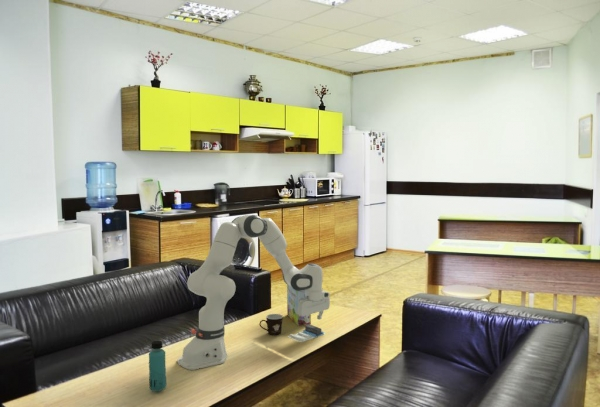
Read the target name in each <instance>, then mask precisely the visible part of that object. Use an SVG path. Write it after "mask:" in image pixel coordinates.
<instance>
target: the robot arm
mask: <svg viewBox="0 0 600 407" xmlns="http://www.w3.org/2000/svg"><path fill="white" fill-rule="evenodd" d="M252 238H253V239H254V238H258V239H259V240H260V242H261V244H262V245H263V247H264V248H265V250H266V252H268V253H269V254H270V255H271V256H272V257H273V258H274V260H275V261H276V263H277V265H278V266H279V268H280V270H281V273H282V280H283V282H284V283H285V284H286V286H287V285H289V286H290V287H292V288H293V289H294V290H296V291H301V290H305V297H303V298H301V299H300V300H299V303H298V310H297V314H298V315H300V316H304V318H305V322H306V323H309V322H310V319H308V315H309V314H311V315H312V314H313V315H314V314H316V313H318V315H317V316H316V319H317V320H322V317H323V314H324V311H327V310H329V308H330V306H331V304H330V303H331V302H330V294H331V293H330V292H329V291H326V290H324V289H323V281H324V280H323V276H324V274H323V267H322V266H320V265H319V264H316V263H310V262H309V263H307V264H305V266H304V267H302V268H300V269H299V268H298V267H297V266H295V265H294V264H293V263H292V261H291V259H290V258H289V256H288V254H287V252H286V250H287V246H288V243H287V240H286V238H285V236H284V233H282V231H281V229H280V228H279V226H278V225H277V224H276V223H275V222H274V220H273V219H272V218H270V217H261V216H259V215H255V214H252V215H251V214H250V215H248V214H247V215H241V216H237V217H235V218H234V219H233V220H232V221H225V222H222V223H221V224H220V226H219V227H218V229H217V231H216V233H215V235H214V238H213V241H212V244H211V246H210V249H209V252H208V254H207V257H206V258H205V259H204V262H203V263H202V264H201V266H200V267H198V269H197V270H195V271H193V272H192V273H190V275H189V276H188V279H187V282H186V286H187V289H188V290H189V291H190V292H192V293H194V294H195V295H198V296H200V297H205V298H206V302H205V305H204V306H202V307H201V308H200V309H199V311H198V328H197V329H196V328H195V329H194V328H192V329H191V330H190V333H191V334H192V335H195V336H194V337H193V338H192V339H191V340H190V341H189V342H188V343H187V344H186V345H185V346H184V347H183V350H182V356H180V357H178V358H177V362H176V363H177V364H178V365H179V366H180V367H182V368H183V369H186V370H190V371H194V370H199V368H200V369H205V368H208V367H212V366H216V365H220V364H224V363H225V360H226V359H227V357H228V353H227V350H226V346H225V345H226V344H225V331H226V330H225V324H224V316H225V314H224V313H225V308H226V305H227V303H228V301H229V300H231V299H232V297H234V295H235V294H236V293H235V292H236V288H237V286H236V283H235V281H234V279H232V278H230V277H228V276H226V275H221V273H222V272H223V270H224V269H225V268H228V267H229V266H230V265H231V264H232V261H233V258H234V255H235V252H236V250H237V246H238V242H239V241H240V240H241V239H252Z"/></svg>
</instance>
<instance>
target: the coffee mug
mask: <svg viewBox="0 0 600 407" xmlns="http://www.w3.org/2000/svg"><path fill="white" fill-rule="evenodd" d="M283 319H284V316H283V315H282V314H280V313H269V314H267V315H266V318H265V319H261V320H260V321H259V326H260V328H261V329H263V330H264V331H267V335H269V336H272V337H273V336H274V337H277V336H280V335H281V334H282V327H283ZM263 322H265V323H266V326H267V328H265V327H263V326H262V323H263Z"/></svg>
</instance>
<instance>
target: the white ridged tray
mask: <svg viewBox="0 0 600 407" xmlns="http://www.w3.org/2000/svg"><path fill="white" fill-rule="evenodd" d="M326 334H327V333H325V332H324V331H322V330H321V335H318V336H316V334H313V333H311V332H308V331H306V330H305V329H304V330H302V331H298V332H297V333H294V334H293V333H290V334H289V335H288V336H287V338H289V339H292V340H294V341H295V342H298V343H304V342H307V341H309V340H313V339H315V338H319V337H321V336H323V335H326Z"/></svg>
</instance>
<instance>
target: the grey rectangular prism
mask: <svg viewBox="0 0 600 407" xmlns="http://www.w3.org/2000/svg"><path fill="white" fill-rule="evenodd" d="M304 326H305V327H304V328H305V329H304V330H306V331H308V332H311V333H313V334H316V336H318V335H321V331H322V328H321V327H318V326H315V325H312V324H306V325H304ZM321 336H322V335H321ZM318 337H319V336H318Z"/></svg>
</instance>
